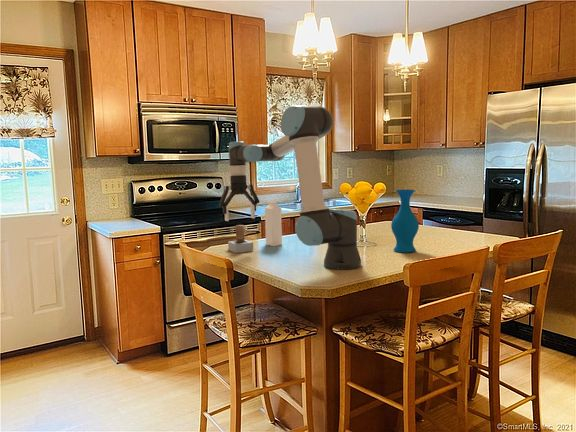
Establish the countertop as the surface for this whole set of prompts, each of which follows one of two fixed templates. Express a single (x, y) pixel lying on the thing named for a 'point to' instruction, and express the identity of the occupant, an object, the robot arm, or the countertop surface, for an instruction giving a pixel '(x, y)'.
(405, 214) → the vase
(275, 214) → the milk
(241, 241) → the peg
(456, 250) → the countertop surface
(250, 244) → the socket block
